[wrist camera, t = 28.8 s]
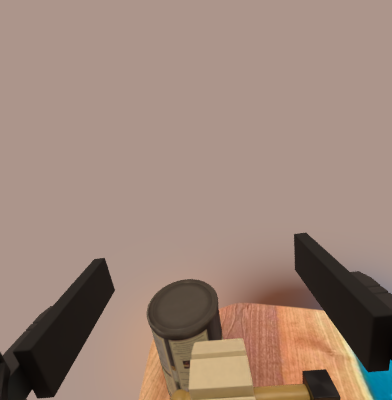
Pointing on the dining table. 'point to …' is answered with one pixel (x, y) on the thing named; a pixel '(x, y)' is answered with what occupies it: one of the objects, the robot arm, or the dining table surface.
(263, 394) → the hook stand
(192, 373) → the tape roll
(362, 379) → the dining table surface
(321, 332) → the dining table surface
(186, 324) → the coffee can
